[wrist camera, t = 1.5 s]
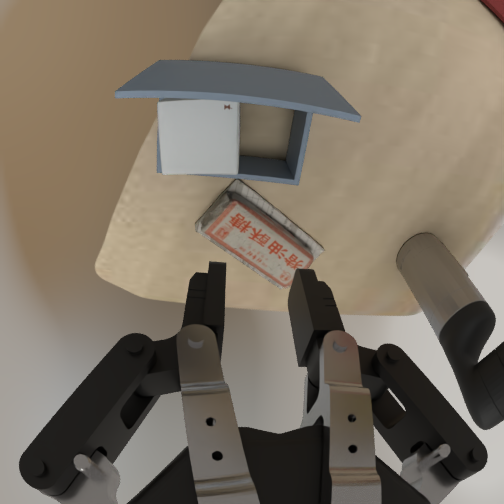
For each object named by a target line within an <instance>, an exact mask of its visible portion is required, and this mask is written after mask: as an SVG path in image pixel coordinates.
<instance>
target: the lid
mask: <svg viewBox="0 0 504 504" xmlns="http://www.w3.org/2000/svg"><path fill="white" fill-rule="evenodd" d="M115 98H187V99H205V100H219V101H231V102H241V103H250V104H258V105H266V106H274V107H281V108H287V109H294V110H300V111H305V112H311V113H316V114H322V115H327V116H332V117H336V118H341V119H346V120H350V121H354V122H360V119H361V115H360V114H359V113H358V112H357V111H356V110H355V109H354V108H353V107H352V106H351V105H350V104H349V103H348V102H347V101H346V100H345V99H344V98H343V97H342V96H341V95H340V93H339V92H338V91H336V90H335V89H334V88H333V87H332V86H331V85H330V84H329V83H328V82H327V81H326V80H325V79H324V78H323V77H321V76H316V75H311V74H306V73H301V72H296V71H290V70H284V69H277V68H271V67H263V66H256V65H247V64H238V63H227V62H213V61H194V60H159V61H157V62H156V63H154V64H153V65H151V66H150V67H148V68H147V69H145V70H144V71H142V72H141V73H140V74H138V75H137V76H135V77H134V78H133V79H131V80H130V81H128V82H127V83H126V84H124V85H123V86H122V87H120V88H119V89H118V90H116V91H115Z"/></svg>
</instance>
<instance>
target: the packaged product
mask: <svg viewBox="0 0 504 504" xmlns="http://www.w3.org/2000/svg"><path fill="white" fill-rule="evenodd" d="M195 230H196V232H198V233H200V234H201V235H202V236H204V237H206V238H207V239H208V240H210V241H211V242H213V243H214V244H215V245H217V246H218V247H220V248H221V249H223V250H224V251H226V252H227V253H229V254H230V255H232V256H233V257H234V258H236V259H237V260H239V261H240V262H242V263H243V264H244V265H246V266H247V267H249V268H250V269H252V270H253V271H255V272H257V273H258V274H259V275H261V276H262V277H263V278H265V279H266V280H268V281H269V282H271V283H272V284H274V285H276V286H277V287H278V288H280V289H282V288H283V287H284V288H288V287H290V286H291V285H292V281H293V278H294V274H295V271H296V269H297V268H300V269H308V268H309V267H310V265H311V263H312V262H313V261H314V260H315V259H316V258H317V257H318V256H319V255H320V254H321V253H322V252H323V251H325V250H324V249H323V248H322V247H321V246H320V245H319V244H318V243H317V242H316V241H315V240H314V239H312V238H311V237H310V236H309V235H308V234H306V233H305V232H303V231H302V230H301V229H300V228H298V227H297V226H296V225H295V224H294V223H293V222H291V221H290V220H289V219H288V218H287V217H285V216H284V215H283V214H282V213H281V212H280V211H279V210H278V209H277V208H275V207H274V206H273V205H271V204H270V203H268V202H267V201H265V200H264V199H263V198H262V197H261V196H260V195H259V194H257V193H256V192H255V191H254V190H252V189H251V188H250V187H248V186H247V185H245V184H244V183H243V182H241V181H240V180H239V179H236V180H235V181H234V182H233V183H232V184H231V185H230V186H229V187H228V188H227V189H226V190H225V191H224V192H223V193H222V194H221V195H220V196H219V197H218V199H217V200H216V201H215V202H214V204H213V205H212V206H211V207H210V208H209V209H208V210H207V211H206V212H205V213H204V215H203V216H202V217H201V218H200V219H199V220H198V221H197V222H196V223H195Z"/></svg>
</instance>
